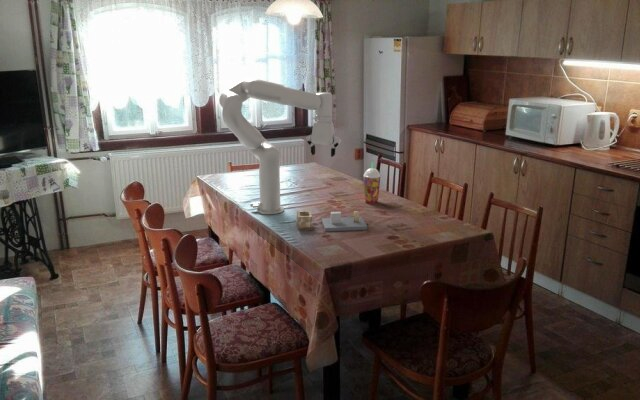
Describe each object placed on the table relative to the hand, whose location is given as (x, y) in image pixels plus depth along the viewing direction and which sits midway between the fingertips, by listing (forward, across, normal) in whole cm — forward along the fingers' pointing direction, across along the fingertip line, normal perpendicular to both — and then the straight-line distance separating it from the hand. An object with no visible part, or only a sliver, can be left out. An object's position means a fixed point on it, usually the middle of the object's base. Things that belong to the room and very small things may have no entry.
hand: (322, 155), depth 255 cm
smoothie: (+24, +22, +12) cm, 35 cm away
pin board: (+25, +19, -26) cm, 40 cm away
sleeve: (+25, +3, -33) cm, 42 cm away
